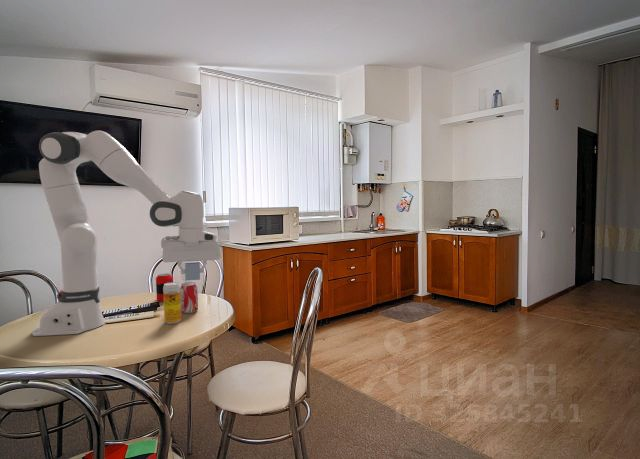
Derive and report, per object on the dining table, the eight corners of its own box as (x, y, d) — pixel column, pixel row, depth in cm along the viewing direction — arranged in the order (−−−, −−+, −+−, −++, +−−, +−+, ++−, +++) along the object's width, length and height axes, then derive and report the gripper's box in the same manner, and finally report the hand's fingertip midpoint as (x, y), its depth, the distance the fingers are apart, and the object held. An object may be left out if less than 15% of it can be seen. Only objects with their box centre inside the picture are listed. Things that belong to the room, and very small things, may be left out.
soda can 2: (195, 314, 156) (193, 285, 155) (178, 314, 156) (176, 285, 155) (200, 309, 163) (199, 281, 162) (184, 309, 163) (183, 281, 162)
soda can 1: (176, 297, 183) (175, 273, 182) (168, 301, 175) (167, 276, 174) (162, 297, 184) (161, 273, 183) (153, 301, 176) (152, 276, 175)
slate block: (185, 280, 136) (185, 264, 135) (185, 278, 140) (185, 262, 140) (200, 279, 137) (199, 263, 137) (199, 277, 142) (199, 261, 142)
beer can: (166, 325, 142) (164, 286, 141) (163, 321, 147) (161, 283, 146) (183, 322, 145) (181, 284, 144) (179, 318, 150) (178, 281, 149)
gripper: (160, 237, 131) (161, 276, 132) (220, 235, 138) (221, 272, 139) (161, 235, 137) (162, 273, 138) (219, 234, 144) (220, 270, 145)
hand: (192, 273), depth 139 cm, fingers closed on slate block, 5 cm apart
